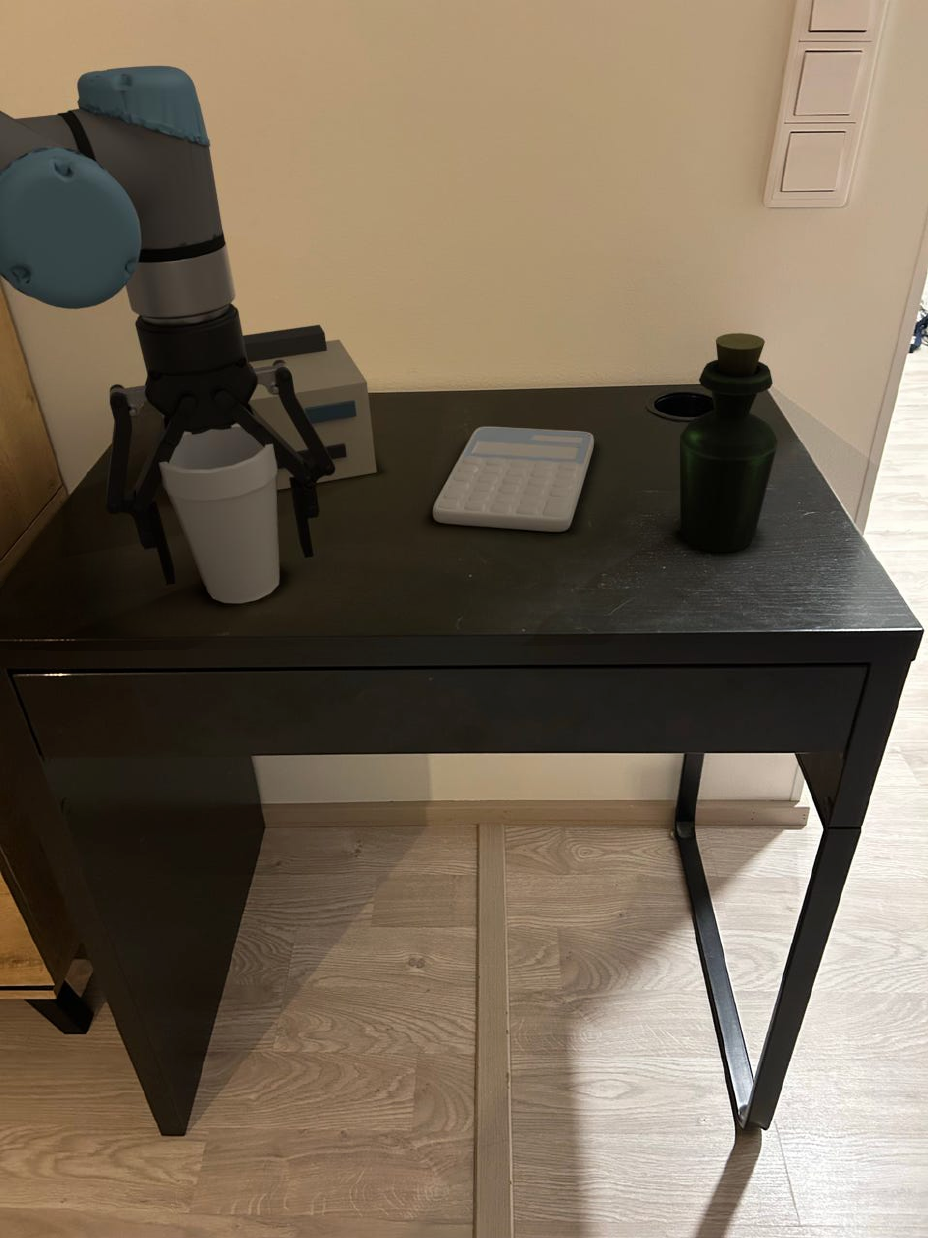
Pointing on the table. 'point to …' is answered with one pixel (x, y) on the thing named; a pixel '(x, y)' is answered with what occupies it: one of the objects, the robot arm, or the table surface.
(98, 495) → the table surface
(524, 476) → the calculator
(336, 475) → the printer
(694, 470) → the potion bottle
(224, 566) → the foam cup
